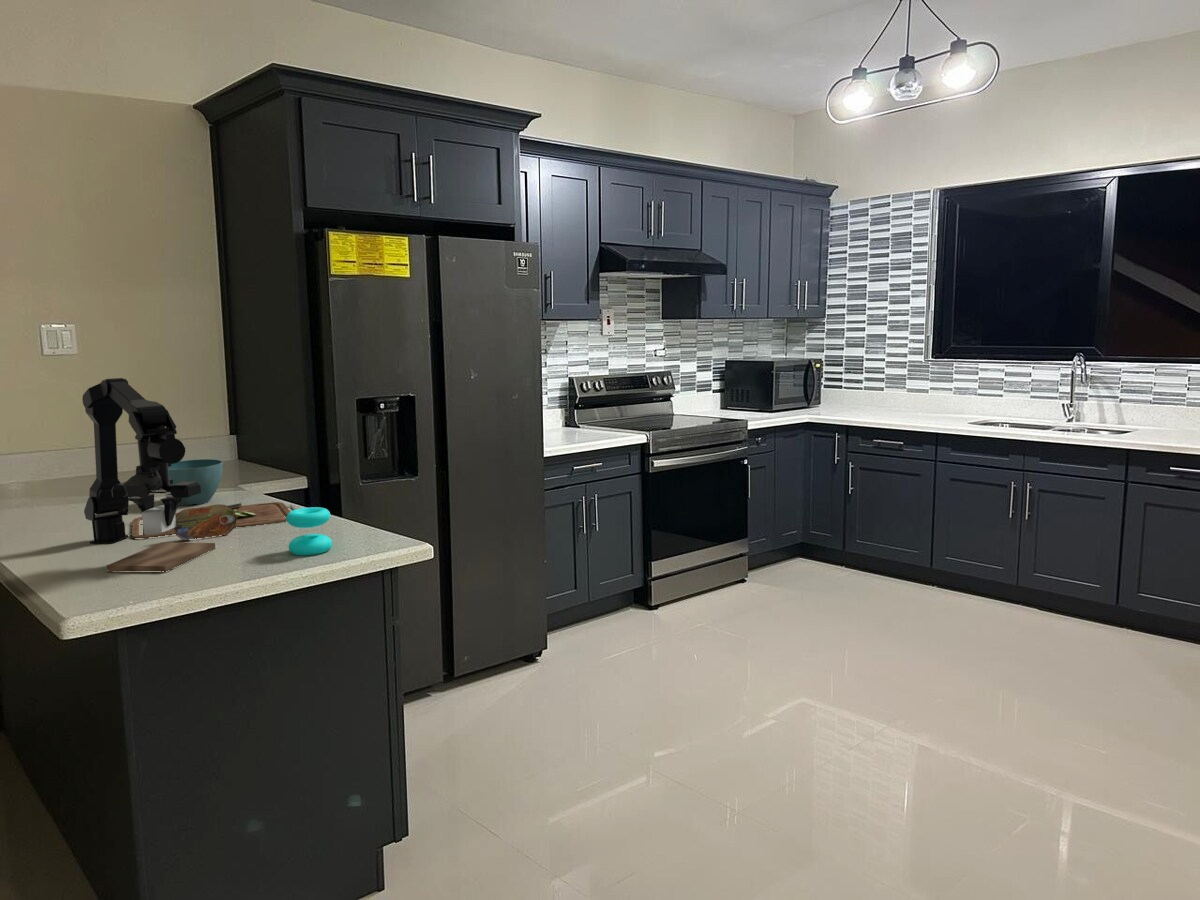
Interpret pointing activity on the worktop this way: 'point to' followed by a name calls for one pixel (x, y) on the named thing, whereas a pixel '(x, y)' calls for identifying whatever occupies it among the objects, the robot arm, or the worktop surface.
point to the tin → (205, 522)
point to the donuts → (309, 542)
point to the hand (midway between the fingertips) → (160, 525)
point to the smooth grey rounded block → (156, 521)
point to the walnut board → (161, 557)
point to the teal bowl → (198, 477)
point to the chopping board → (237, 517)
